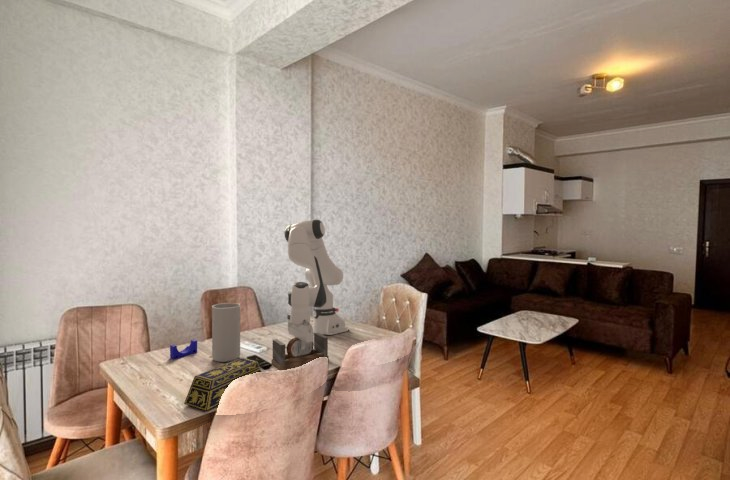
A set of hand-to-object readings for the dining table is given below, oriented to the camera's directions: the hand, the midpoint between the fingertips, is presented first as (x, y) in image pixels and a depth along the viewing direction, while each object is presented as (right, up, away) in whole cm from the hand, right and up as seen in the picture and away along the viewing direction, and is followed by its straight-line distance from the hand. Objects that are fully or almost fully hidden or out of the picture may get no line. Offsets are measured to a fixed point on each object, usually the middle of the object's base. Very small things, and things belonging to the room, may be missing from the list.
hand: (300, 347), depth 179 cm
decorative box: (-22, -8, -31) cm, 39 cm away
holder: (0, -7, 0) cm, 7 cm away
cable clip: (-58, -6, +9) cm, 59 cm away
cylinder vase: (-36, -6, +5) cm, 37 cm away
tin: (0, -4, 0) cm, 4 cm away
